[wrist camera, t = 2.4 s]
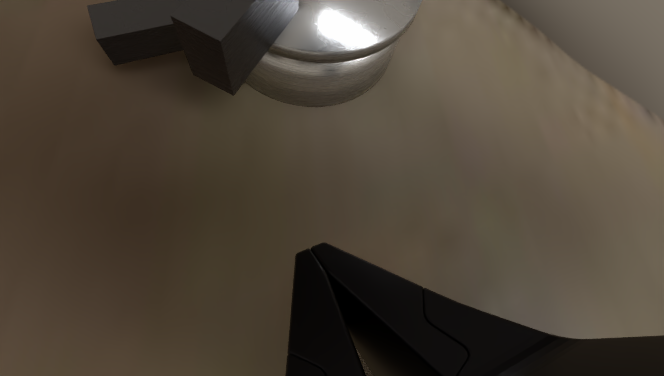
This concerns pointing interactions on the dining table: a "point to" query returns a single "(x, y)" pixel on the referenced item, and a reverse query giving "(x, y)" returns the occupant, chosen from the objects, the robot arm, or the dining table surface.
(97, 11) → the pot
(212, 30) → the lid
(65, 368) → the dining table surface
